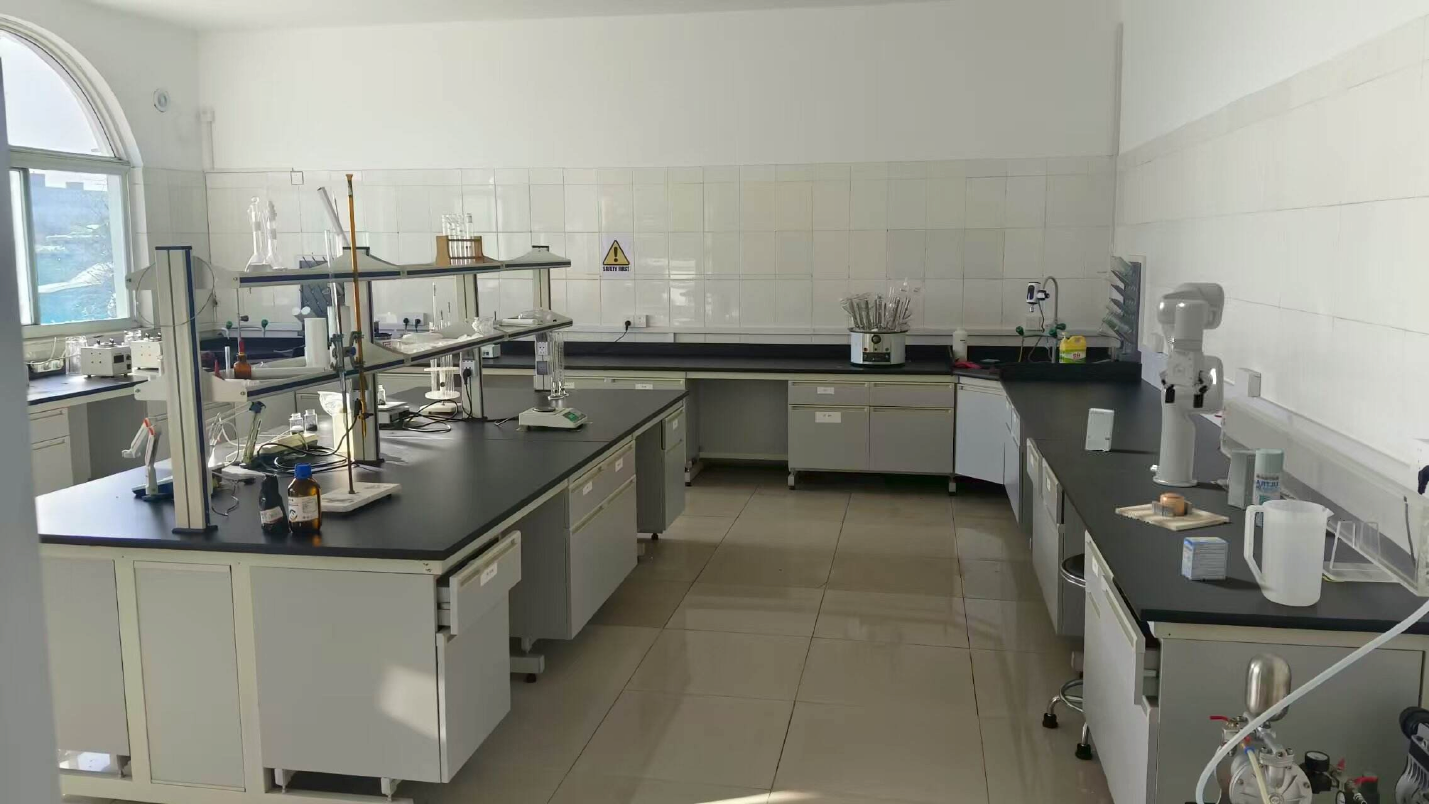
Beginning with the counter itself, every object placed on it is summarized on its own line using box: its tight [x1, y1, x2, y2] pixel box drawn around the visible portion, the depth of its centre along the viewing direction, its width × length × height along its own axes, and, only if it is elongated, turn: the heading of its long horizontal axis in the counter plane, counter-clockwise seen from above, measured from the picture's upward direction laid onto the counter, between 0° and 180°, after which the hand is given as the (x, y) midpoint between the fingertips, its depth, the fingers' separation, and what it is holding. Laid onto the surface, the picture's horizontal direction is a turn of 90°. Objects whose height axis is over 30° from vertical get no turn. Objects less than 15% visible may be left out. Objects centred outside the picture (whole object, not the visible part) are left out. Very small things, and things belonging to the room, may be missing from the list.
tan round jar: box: [1159, 492, 1186, 516], centre depth 282 cm, size 6×6×5 cm
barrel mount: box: [1115, 500, 1230, 532], centre depth 283 cm, size 20×20×4 cm
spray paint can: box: [1252, 448, 1285, 529], centre depth 274 cm, size 6×6×20 cm
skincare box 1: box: [1085, 407, 1115, 452], centre depth 377 cm, size 8×6×15 cm
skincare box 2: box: [1227, 450, 1256, 510], centre depth 295 cm, size 8×7×16 cm
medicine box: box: [1181, 536, 1229, 581], centre depth 231 cm, size 8×4×9 cm, turn 92°
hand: (1183, 405), depth 296 cm, fingers open, 9 cm apart
